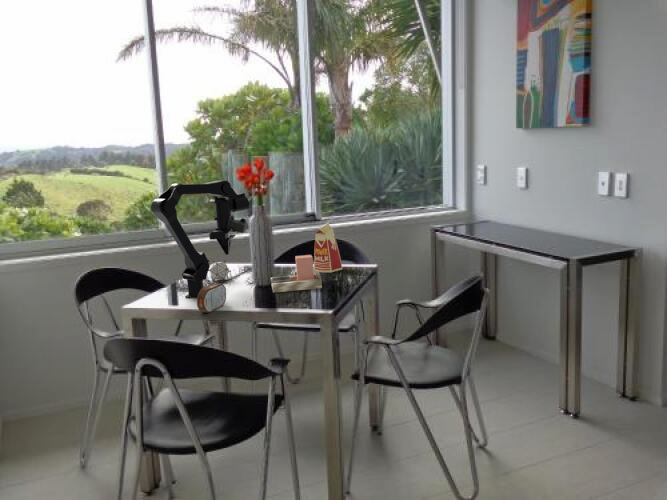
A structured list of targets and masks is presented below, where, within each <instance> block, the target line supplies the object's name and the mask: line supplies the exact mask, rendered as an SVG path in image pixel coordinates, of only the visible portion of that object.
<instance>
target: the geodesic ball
mask: <svg viewBox="0 0 667 500" xmlns="http://www.w3.org/2000/svg"><path fill="white" fill-rule="evenodd" d="M212 261H213V263H212V265H211V266H210V268H209V271H208V272H209V273H210V274H211V276H212V278H213V280H212V282H214V281H216V280H224V281H227V279H226V278H227V276H228V274H229V273H231V272H232V270H230V269H229V268H228V265H227V263H226V262H227V259H226V260H224V261H218V262H216V261H215V260H212Z"/></svg>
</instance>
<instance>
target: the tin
mask: <svg viewBox="0 0 667 500" xmlns="http://www.w3.org/2000/svg"><path fill="white" fill-rule="evenodd" d="M226 300H227V288H226V286H225V284H223V283H217V282H214V283H212V284H209V285H206V286H204V288H202V289H201V290H200V292H199V294H198V297H196V305H197V309H198V311H199V312H200V313H206V314H207V313H208V314H209V313H212V312H214V311H216V310H217V309H220V308H222V307H223V306H224V305H225V303H226Z"/></svg>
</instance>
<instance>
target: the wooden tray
mask: <svg viewBox="0 0 667 500" xmlns="http://www.w3.org/2000/svg"><path fill="white" fill-rule="evenodd" d="M322 282H323V281H322V276H321V275H320V272H318V271H314V279H312V280H301V281H297V274H293V275H284V276H283V275H282V276H273V277H270V283H271V284H270V285H271V289H272V293H273V294H274V293H281V292H282V293H284V292H294V291H303V290H313V289H315V290H316V289H317V290H318V289H322V288H323V286H322V285H323V284H322Z"/></svg>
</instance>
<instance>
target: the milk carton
mask: <svg viewBox="0 0 667 500" xmlns="http://www.w3.org/2000/svg"><path fill="white" fill-rule="evenodd" d="M313 251H314V254H313V255H314V256H313V272H315V271H318V273H333V272H337V271H342V270H343V264H342V261H341V260H342V259H341V255H340V249H339V247H338V242H337V238H336V235H335V231H334V229H333V228H332V226H331V225H330V222H329V221H327V222H326V223H325V224H324V225H323V226H320V227H318V231H317V232H315V239H314V250H313Z"/></svg>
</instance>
